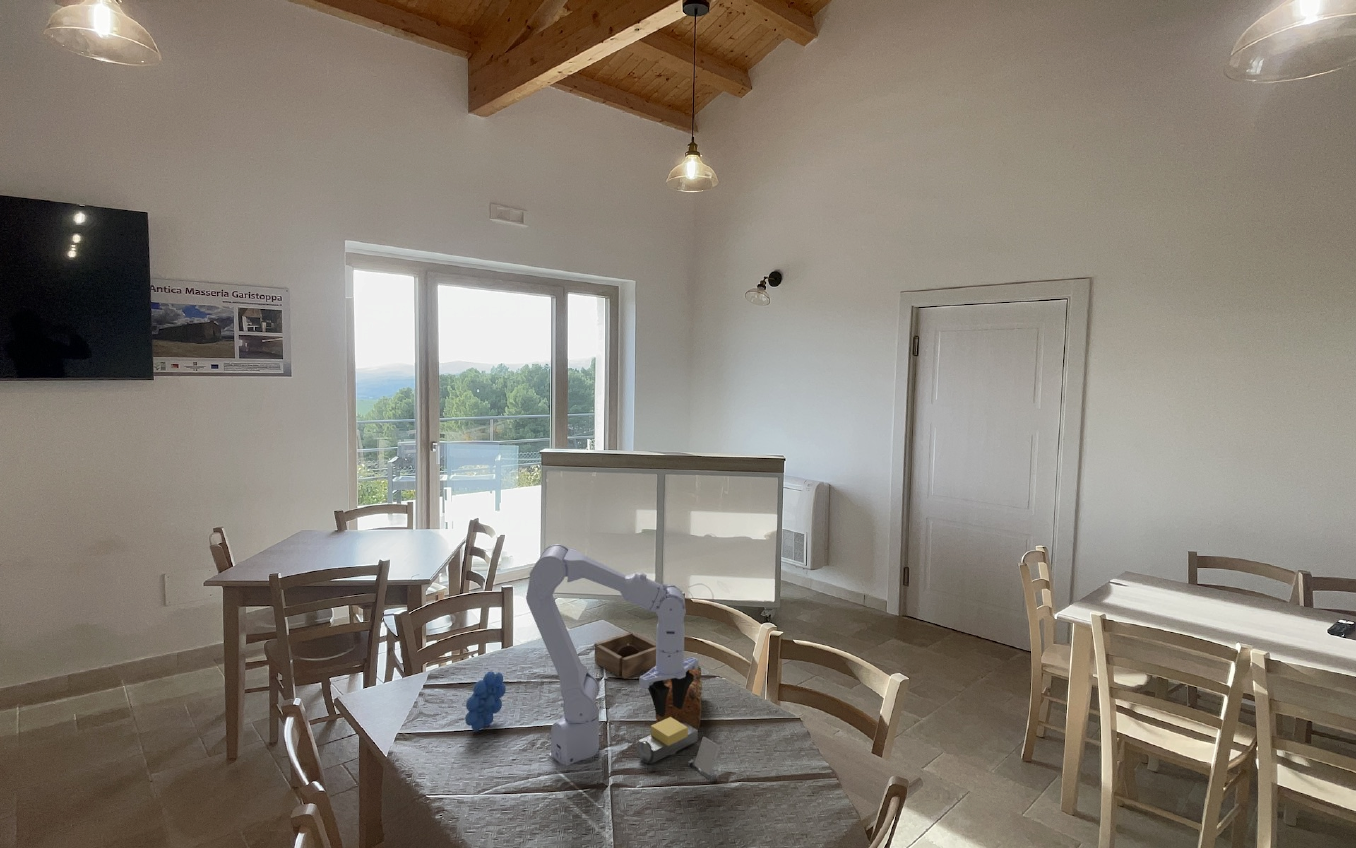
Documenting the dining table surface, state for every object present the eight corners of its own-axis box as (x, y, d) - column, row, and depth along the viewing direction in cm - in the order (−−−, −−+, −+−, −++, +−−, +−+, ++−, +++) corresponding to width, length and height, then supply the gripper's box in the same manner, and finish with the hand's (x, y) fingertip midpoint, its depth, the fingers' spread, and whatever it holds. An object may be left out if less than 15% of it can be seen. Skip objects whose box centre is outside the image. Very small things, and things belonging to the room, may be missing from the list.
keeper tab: (712, 781, 133) (709, 781, 133) (692, 768, 138) (689, 768, 137) (723, 747, 135) (720, 747, 134) (703, 735, 139) (700, 735, 138)
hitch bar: (688, 801, 128) (689, 774, 128) (635, 763, 140) (635, 738, 140) (735, 774, 137) (736, 749, 136) (681, 740, 149) (681, 717, 148)
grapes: (490, 709, 160) (489, 660, 159) (512, 717, 157) (512, 666, 156) (452, 733, 150) (451, 680, 149) (475, 741, 147) (474, 687, 146)
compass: (633, 658, 189) (633, 632, 189) (639, 671, 182) (639, 644, 181) (604, 661, 187) (604, 635, 187) (609, 674, 180) (609, 647, 179)
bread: (700, 736, 151) (701, 692, 150) (652, 734, 151) (653, 690, 150) (701, 695, 170) (702, 656, 169) (658, 693, 170) (659, 654, 169)
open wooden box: (622, 679, 177) (623, 660, 176) (592, 661, 186) (592, 644, 186) (662, 664, 186) (662, 646, 185) (631, 648, 195) (631, 631, 195)
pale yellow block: (667, 762, 139) (668, 736, 138) (650, 751, 143) (651, 725, 142) (687, 752, 142) (687, 727, 142) (669, 741, 146) (670, 717, 146)
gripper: (655, 664, 133) (654, 731, 134) (709, 644, 142) (707, 706, 144) (633, 652, 138) (632, 716, 139) (685, 633, 148) (684, 694, 149)
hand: (668, 710), depth 142 cm, fingers open, 4 cm apart
